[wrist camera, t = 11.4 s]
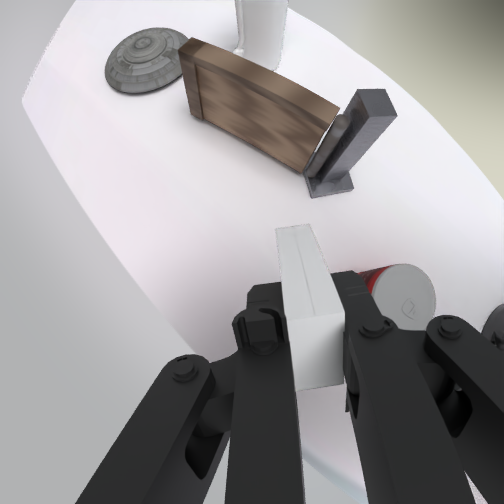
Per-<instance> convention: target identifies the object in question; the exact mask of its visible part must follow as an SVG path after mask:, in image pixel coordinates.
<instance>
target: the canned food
mask: <svg viewBox="0 0 504 504" xmlns="http://www.w3.org/2000/svg"><path fill="white" fill-rule="evenodd" d="M358 275H360V276H361V277H362V279H363V280H364V282H365V284H366V286H367V288H368V290H369V293H371V295H372V297H373V299H374V301H375V303H376V305H377V306H378V308H379V310H380V312H381V314H382V315H383V316H386V317H388V318H390V319H392V320H393V321H394V322H395V323H396V325H397V326H398V328H400V329H404V330H426V327H427V325H428V323H429V321H431V320H432V318H433V316H434V312H435V306H436V298H435V292H434V288H433V285H432V283H431V281H430V279H429V278H428V276H427V275H426V274H425V273H424V272H423V271H422V270H421V269H419V268H418V267H416V266H413V265H410V264H396V265H390V266H386V267H382V268H378V269H373V270H369V271H365V272H361V273H358Z"/></svg>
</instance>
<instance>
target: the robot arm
mask: <svg viewBox="0 0 504 504" xmlns="http://www.w3.org/2000/svg"><path fill="white" fill-rule="evenodd" d="M275 230H276V238H277V247H278V256H279V265H280V274H281V282H275V283H268V284H260V285H254V286H253V287H252V289H251V290H250V291H249V292H248V294H247V307H246V310H243V311H241V312H240V313H239V314H238V315H237V316H236V317H234V320H233V322H232V327H233V330H234V334H235V338H236V342H237V346H238V351H237V352H235V353H234V354H232V355H231V356H229V357H227V358H225V359H222V360H219V361H216V362H212V363H209V361H208V360H206V359H205V358H204V357H203V356H199V355H195V354H192V355H183V356H180V357H176V358H175V359H173V360H171V361H170V362H168V363H167V365H166V366H165V367H164V368H163V369H162V370H161V372H160V373H159V375H158V376H157V378H156V379H155V381H154V383H153V384H152V386H151V387H150V389H149V390H148V392H147V393H146V395H145V396H144V398H143V399H142V401H141V402H140V404H139V405H138V407H137V408H136V410H135V412H134V413H133V415H132V416H131V418H130V419H129V421H128V422H127V424H126V425H125V427H124V428H123V430H122V431H121V433H120V435H119V436H118V438H117V439H116V441H115V442H114V444H113V445H112V447H111V448H110V450H109V452H108V453H107V455H106V456H105V458H104V459H103V461H102V462H101V464H100V465H99V467H98V469H97V470H96V472H95V473H94V475H93V476H92V478H91V480H90V481H89V483H88V484H87V486H86V488H85V489H84V490H83V492H82V494H81V495H80V497H79V498H78V500H77V502H76V503H75V504H203V502H204V499H205V497H206V494H207V492H208V489H209V487H210V485H211V482H212V480H213V478H214V475H215V473H216V470H217V468H218V465H219V463H220V461H221V458H222V456H223V453H224V451H225V448H226V446H227V443H228V441H229V438H230V447H229V458H228V469H227V480H226V492H225V504H306V502H305V489H304V477H303V464H302V452H301V441H300V430H299V419H298V408H297V399H296V391H300V390H307V389H314V388H321V387H327V386H334V385H340V384H344V376H345V380H346V383H347V393H346V410H345V412H349V410H350V415H351V419H352V424H353V428H354V432H355V437H356V442H357V446H358V451H359V456H360V461H361V466H362V471H363V476H364V481H365V486H366V491H367V497H368V502H369V504H476V503H475V500H474V497H473V494H472V491H471V488H470V485H469V483H468V480H467V477H466V474H467V475H468V476H469V478H470V479H471V480H472V482H473V483H474V485H475V486H476V487H477V489H478V490H479V492H480V493H481V494H482V496H483V497H484V499H485V500H486V501H487V503H488V504H504V304H502V305H500V306H499V307H498V308H496V309H495V310H494V311H493V313H492V314H491V315H490V317H489V319H488V320H487V322H486V324H485V327H484V329H483V332H482V334H481V333H480V332H478V331H477V330H476V329H475V328H474V327H472V326H471V325H470V324H469V323H468V322H466V321H465V320H463V319H461V318H460V317H456V316H452V315H441V316H438V317H435V318H433V319H432V320H431V321H429V323H428V325H427V327H426V330H404V329H400V328H398V326H397V325H396V323H395V322H394V321H393V320H392V319H390V318H388V317H386V316H383V315H382V314H381V312H380V310H379V308H378V306H377V305H376V303H375V301H374V299H373V297H372V295H371V293H369V290H368V288H367V286H366V284H365V282H364V280H363V279H362V277H361V276H360V275H358V274H357V273H355V272H354V271H352V270H351V271H345V272H338V273H331V274H330V272H329V270H328V267H327V265H326V262H325V260H324V257H323V255H322V252H321V250H320V247H319V245H318V243H317V240H316V238H315V235H314V233H313V231H312V228H311V226H310V224H306V225H299V226H292V227H285V228H278V229H275ZM464 471H465V472H466V474H465V472H464Z"/></svg>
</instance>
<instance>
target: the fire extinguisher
mask: <svg viewBox="0 0 504 504" xmlns="http://www.w3.org/2000/svg"><path fill="white" fill-rule="evenodd" d="M235 6H236V15H237V24H238V33H239V42H238V46H237V48H235V50H234V52H233V54H236V55H238V56H240V57H243V58H245V59H247V60H250V61H252V62H254V63H256V64H258V65H260V66H263V67H265V68H267V69H269V70H271V71H272V70H275V69H277V67H278V65H279V63H280V61H281V53H282V46H283V38H284V31H285V23H286V15H287V8H288V0H235Z"/></svg>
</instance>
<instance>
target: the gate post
mask: <svg viewBox="0 0 504 504" xmlns="http://www.w3.org/2000/svg"><path fill="white" fill-rule="evenodd" d="M343 115H345V116H346V117H348V119H349V121H350V123H349V125H348V127H347V128H346V130H345V131H344V133H343V134H342V136H341V138H340V139H339V141H338V142H337V144H336V145H335V147H334V148H333V150H332V151H331V153H330V154H329V156H328V157H327V159H326V160H325V162H324V163H323V165H322V167H321V168H320V170H319V171H318V173H317V174H316V176H315V177H308V176H307V174H306V170H307V168H308V166H309V164H310V163H311V161H312V159H313V157H314V155H315V154H316V152H315V153H313V155H312V156H311V158H310V160H309V162H308V164H307V165H306V167H305V169H304V170H303V172H304V175H305V178H306V182H307V185H308V188H309V192H310V195H311V198H316V197H321V196H326V195H332V194H337V193H343V192H348V191H352V190H353V189H354V187H353V183H352V180H351V177H350V174H349V170H350V169H351V168H352V167H353V166H354V165H355V164H356V163H357V161H358V160H359V159H360V158H361V157H362V156H363V155H364V154H365V152H366V151H367V150H368V149H369V148H370V147H371V146H372V144H373V143H374V142H375V141H376V140H377V139H378V138H379V136H380V135H381V134H382V133H383V132H384V131H385V130H386V128H387V127H388V126H389V125H390V124H391V123H392V122H393V120H394V119H395V118H396V117H397V116H398V115H397V113H396V111H395V109H394V107H393V105H392V102H391V100H390V98H389V96H388V94H387V92H386V90H385V89H357V91H356V92H355V94H354V96H353V98H352V99H351V101H350V103H349V104H348V106H347V108H346V110H345V111H344V113H343Z"/></svg>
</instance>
